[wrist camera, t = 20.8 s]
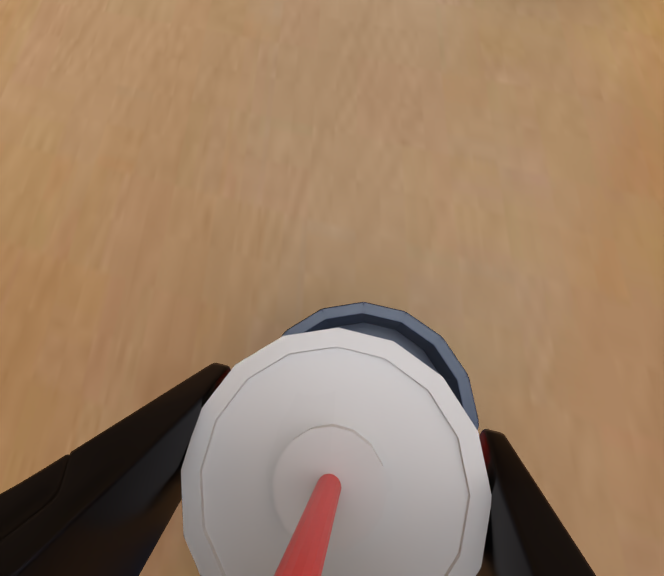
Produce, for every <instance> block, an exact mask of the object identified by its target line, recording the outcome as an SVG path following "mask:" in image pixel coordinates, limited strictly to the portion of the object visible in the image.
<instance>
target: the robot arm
mask: <svg viewBox="0 0 664 576" xmlns="http://www.w3.org/2000/svg"><path fill="white" fill-rule="evenodd" d="M230 371H231V369H230V367H229V366H227V365H223V364H219V363H213V364H211V365H209V366H207V367H206V368H204V369H203V370H201V371H199V372H198V373H196V374H195V375H193V376H191V377H190V378H188V379H187V380H185V381H183V382H182V383H180V384H179V385H177V386H175V387H174V388H172V389H171V390H169V391H167V392H166V393H164V394H163V395H161V396H159V397H158V398H156V399H155V400H153V401H151V402H150V403H148V404H147V405H145V406H143V407H142V408H140V409H139V410H137V411H136V412H134V413H132V414H131V415H129V416H128V417H126V418H124V419H123V420H121V421H120V422H118V423H116V424H115V425H113V426H112V427H110V428H108V429H107V430H105V431H104V432H102V433H100V434H99V435H97V436H96V437H94V438H92V439H91V440H89V441H88V442H86V443H84V444H83V445H81V446H80V447H78V448H76V449H75V450H73V451H72V452H71V453H70V455H65V456H63V457H62V458H60V459H59V460H57V461H55V462H54V463H52V464H51V465H49V466H47V467H46V468H44V469H43V470H41V471H39V472H38V473H36V474H34V475H33V476H31V477H29V478H28V479H26V480H24V481H23V482H21V483H19V484H17V485H16V486H14V487H12V488H10V489H9V490H7V491H5V492H3V493H1V494H0V576H139V574H140V573H141V571H142V569H143V567H144V565H145V564H146V562H147V560H148V558H149V556H150V555H151V553H152V551H153V549H154V547H155V546H156V544H157V542H158V540H159V538H160V537H161V535H162V533H163V531H164V530H165V528H166V526H167V524H168V522H169V521H170V519H171V517H172V515H173V513H174V512H175V510H176V508H177V506H178V504H179V503H180V501H181V499H182V486H181V468H182V465H183V462H184V459H185V455H186V452H187V449H188V446H189V443H190V439H191V436H192V434H193V431H194V429H195V426H196V423H197V420H198V418H199V415H200V412H201V408H202V407H203V406H204V404H205V403H206V402H207V401H208V399H209V398H210V397H211V395H212V394H213V393H214V392H215V390H216V389H217V388H218V386H219V385H220V384H221V383H222V381H223V380H224V379H225V377H226V376H227V375H228V373H229V372H230ZM479 439H480V443H481V448H482V453H483V457H484V462H485V466H486V471H487V476H488V480H489V485H490V490H491V494H492V497H491V509H490V515H489V521H488V528H487V534H486V540H485V546H484V552H483V559H482V565H481V568H480V570H479V571H478V573H477V575H476V576H596V575H595V573H594V572H593V570H592V569H591V567H590V566H589V564H588V563H587V561H586V559H585V558H584V556H583V555H582V553H581V552H580V550H579V549H578V547H577V546H576V544H575V543H574V541H573V540H572V538H571V536H570V535H569V533H568V532H567V530H566V529H565V527H564V526H563V524H562V523H561V521H560V520H559V518H558V516H557V515H556V513H555V512H554V510H553V509H552V507H551V506H550V504H549V503H548V501H547V500H546V498H545V496H544V495H543V493H542V492H541V490H540V489H539V487H538V486H537V484H536V483H535V481H534V480H533V478H532V477H531V475H530V473H529V472H528V470H527V469H526V467H525V466H524V464H523V463H522V461H521V460H520V458H519V457H518V455H517V453H516V452H515V450H514V449H513V447H512V446H511V444H510V443H509V441H508V440H507V438H506V437H505V435H504V434H502V433H500V432H497V431H493V430H489V429H484V430H483V431H482V432H481V434H480V436H479Z"/></svg>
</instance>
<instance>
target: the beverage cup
mask: <svg viewBox="0 0 664 576" xmlns="http://www.w3.org/2000/svg"><path fill="white" fill-rule="evenodd" d="M181 486H182V509H183V531H184V538H185V540H186V542H187V545H188V547H189V549H190V552H191V554H192V557H193V559H194V561H195V564H196V566H197V568H198V571H199V573H200V576H476V575H477V573H478V571H479V570H480V568H481V565H482V559H483V552H484V546H485V540H486V534H487V528H488V521H489V515H490V509H491V497H492V494H491V490H490V485H489V480H488V476H487V471H486V466H485V462H484V457H483V453H482V448H481V443H480V439H479V434H478V431H477V429H476V427H475V426H474V424H473V423H472V421H471V420H470V418H469V417H468V415H467V414H466V412H465V410H464V409H463V407H462V406H461V404H460V403H459V401H458V400H457V398H456V397H455V395H454V393H453V392H452V390H451V389H450V387H449V386H448V384H447V383H446V381H445V380H444V378H443V377H442V376H441V375H440V374H438V373H437V372H435V371H434V370H433V369H431V368H430V367H429V366H427V365H426V364H424V363H423V362H422V361H420V360H419V359H418V358H416V357H415V356H413V355H412V354H411V353H409V352H408V351H406V350H405V349H404V348H402V347H401V346H400V345H398V344H397V343H395V342H394V341H391V340H386V339H382V338H378V337H374V336H370V335H366V334H362V333H358V332H354V331H350V330H346V329H342V328H332V329H326V330H319V331H312V332H306V333H299V334H292V335H286V336H282V337H281V338H279V339H277V340H276V341H274V342H272V343H271V344H269V345H267V346H266V347H264V348H262V349H261V350H259V351H257V352H256V353H254V354H252V355H251V356H249V357H247V358H246V359H244V360H242V361H241V362H239V363H237V364H236V365H235V366H234V367H233V368H232V370H231V371H230V372H229V373H228V375H227V376H226V377H225V379H224V380H223V381H222V383H221V384H220V385H219V386H218V388H217V389H216V390H215V392H214V393H213V394H212V395H211V397H210V398H209V399H208V401H207V402H206V403H205V404H204V406H203V407H202V408H201V412H200V415H199V418H198V420H197V423H196V426H195V429H194V431H193V434H192V436H191V439H190V443H189V446H188V449H187V452H186V455H185V459H184V462H183V465H182V468H181Z"/></svg>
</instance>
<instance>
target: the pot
mask: <svg viewBox="0 0 664 576" xmlns="http://www.w3.org/2000/svg"><path fill="white" fill-rule="evenodd" d="M332 328H342V329H346V330H350V331H354V332H358V333H362V334H366V335H370V336H374V337H378V338H382V339H386V340H391V341H394V342H395V343H397V344H398V345H400V346H401V347H402V348H404V349H405V350H406V351H408V352H409V353H411V354H412V355H413V356H415V357H416V358H418V359H419V360H420V361H422V362H423V363H424V364H426V365H427V366H429V367H430V368H431V369H433V370H434V371H435V372H437V373H438V374H440V375H441V376H442V377H443V378H444V380H445V381H446V383H447V384H448V386H449V387H450V389H451V390H452V392H453V393H454V395H455V397H456V398H457V400H458V401H459V403H460V404H461V406H462V407H463V409H464V410H465V412H466V414H467V415H468V417H469V418H470V420H471V421H472V423H473V424H474V426H475V427H476V429H477V431H478V426H479V423H478V422H479V421H478V416H477V412H476V407H475V403H474V398H473V394H472V389H471V385H470V380H469V377H468V374H467V373H466V371H465V370H464V368H463V367H462V365H461V364H460V362H459V361H458V359H457V358H456V356H455V355H454V353H453V352H452V350H451V349H450V347H449V346H448V344H447V343H446V342H445V340H444V339H443V338H442V337H441V336H440V335H439V334H437V333H436V332H435V331H433V330H432V329H430V328H429V327H427V326H426V325H424V324H423V323H421V322H420V321H419V320H417V319H416V318H414V317H413V316H411V315H410V314H408V313H407V312H405V311H401V310H397V309H393V308H388V307H384V306H379V305H375V304H371V303H366V302H364V303H363V302H360V303H353V304H347V305H341V306H335V307H329V308H323V309H320V310H319V311H317V312H316V313H314V314H312V315H311V316H309V317H307V318H306V319H304V320H302V321H301V322H299V323H298V324H296V325H294V326H293V327H291V328H289V329H288V330H287V331H286V332H284V334H283V335H282V336H286V335H292V334H299V333H306V332H312V331H319V330H326V329H332ZM282 336H281V337H282Z"/></svg>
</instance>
